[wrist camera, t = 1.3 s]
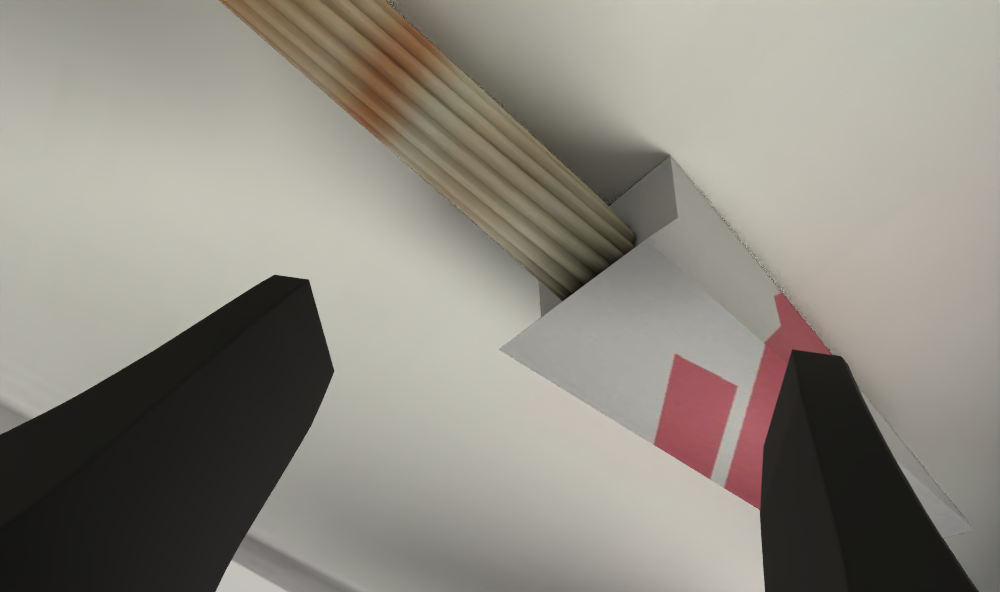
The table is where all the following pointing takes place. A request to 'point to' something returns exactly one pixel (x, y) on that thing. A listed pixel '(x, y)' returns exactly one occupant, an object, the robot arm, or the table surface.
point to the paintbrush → (584, 252)
